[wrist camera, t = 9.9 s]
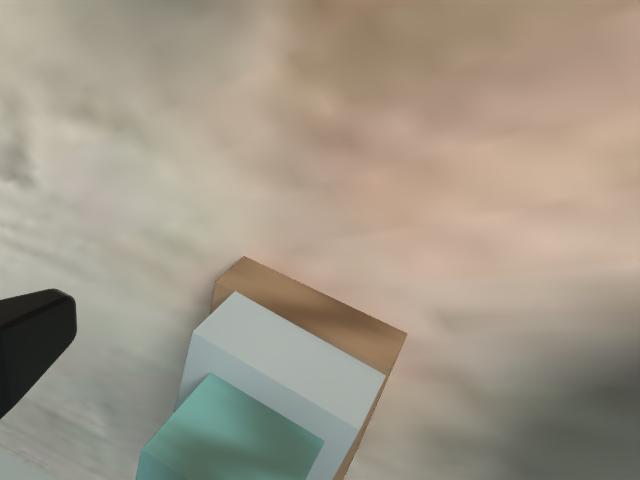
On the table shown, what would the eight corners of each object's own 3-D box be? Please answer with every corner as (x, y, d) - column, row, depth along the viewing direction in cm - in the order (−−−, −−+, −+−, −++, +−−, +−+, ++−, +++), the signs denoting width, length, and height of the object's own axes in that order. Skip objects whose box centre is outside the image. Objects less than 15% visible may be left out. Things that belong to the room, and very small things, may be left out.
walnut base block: (411, 325, 24) (391, 368, 21) (361, 440, 28) (339, 486, 26) (251, 249, 26) (215, 281, 23) (227, 368, 30) (194, 406, 28)
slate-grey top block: (386, 375, 22) (359, 429, 19) (332, 473, 26) (304, 529, 23) (234, 290, 23) (192, 331, 21) (205, 396, 27) (167, 441, 24)
